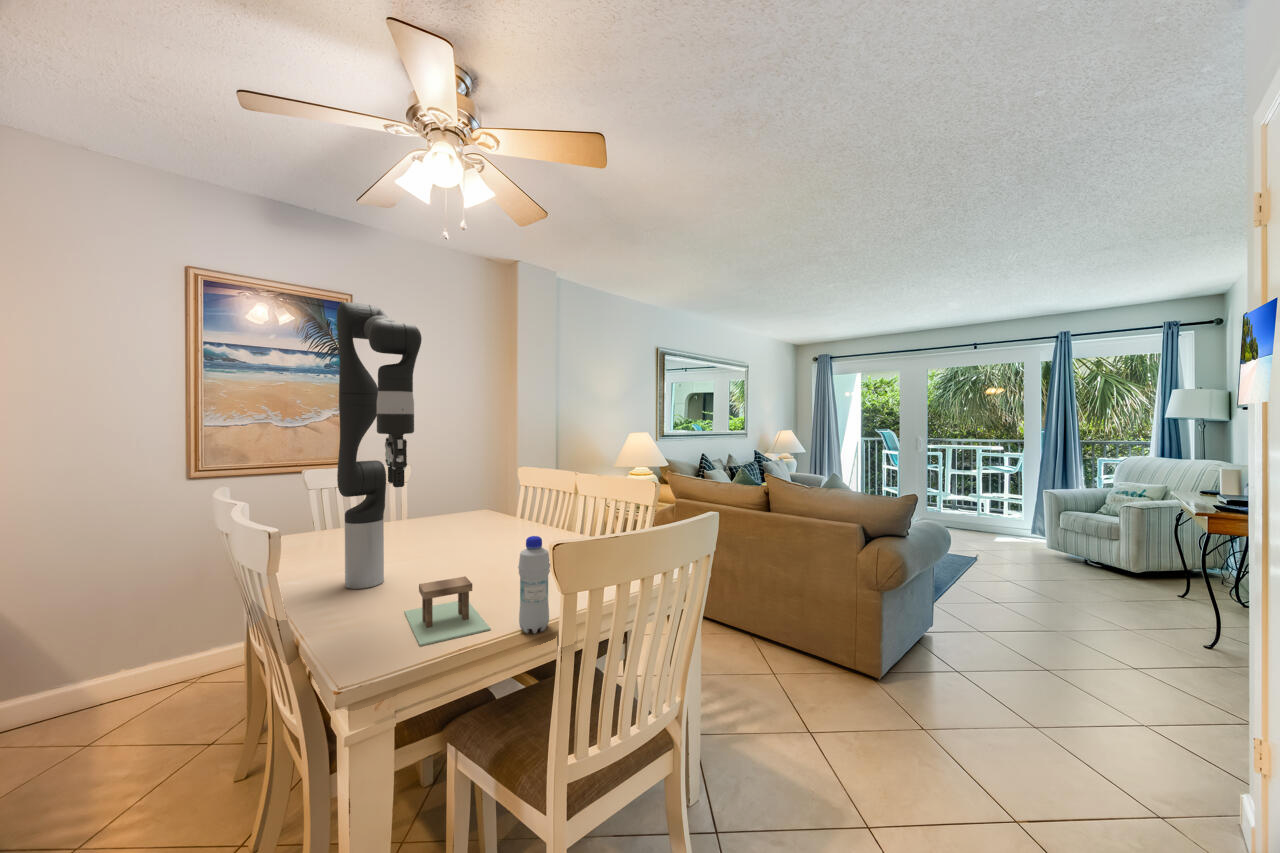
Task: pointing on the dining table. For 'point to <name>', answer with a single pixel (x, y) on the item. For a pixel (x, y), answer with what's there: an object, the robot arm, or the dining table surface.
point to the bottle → (534, 586)
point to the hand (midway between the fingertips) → (395, 484)
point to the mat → (445, 623)
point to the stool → (444, 589)
